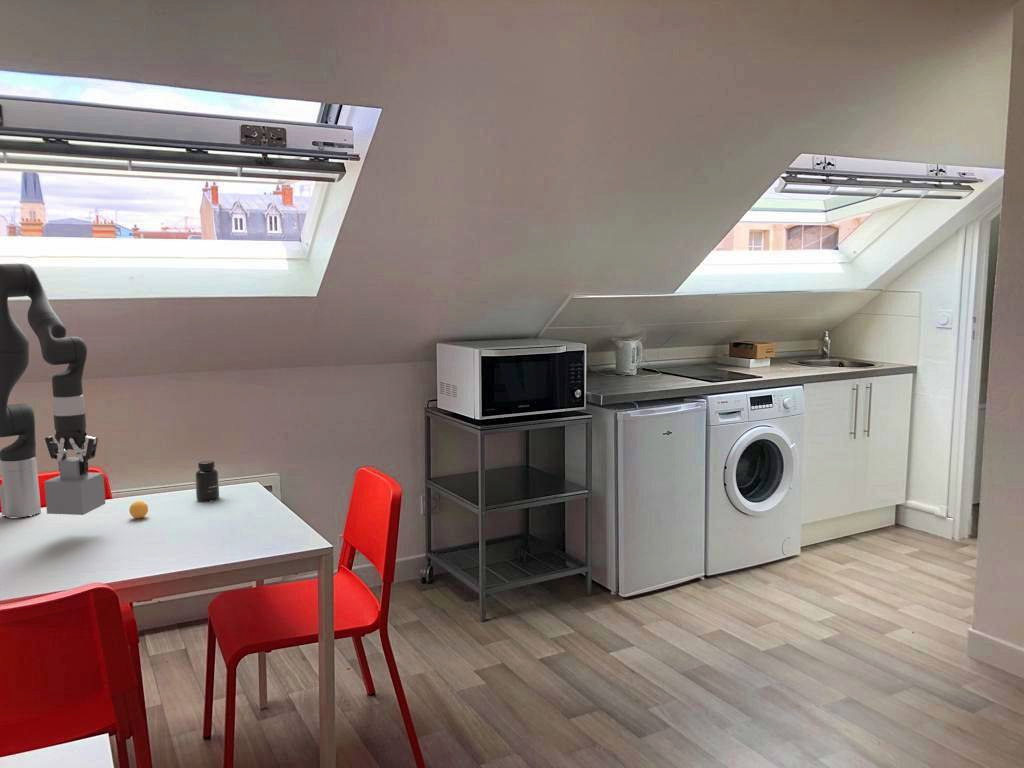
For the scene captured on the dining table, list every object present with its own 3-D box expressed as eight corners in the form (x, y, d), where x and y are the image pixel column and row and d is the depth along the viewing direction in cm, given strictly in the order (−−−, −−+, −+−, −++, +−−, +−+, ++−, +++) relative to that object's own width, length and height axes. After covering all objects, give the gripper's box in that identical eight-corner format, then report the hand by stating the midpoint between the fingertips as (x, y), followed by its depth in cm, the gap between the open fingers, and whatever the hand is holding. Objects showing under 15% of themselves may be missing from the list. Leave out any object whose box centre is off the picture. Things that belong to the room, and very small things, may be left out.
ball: (126, 520, 244) (125, 503, 243) (135, 515, 249) (134, 498, 248) (142, 520, 243) (141, 503, 243) (152, 515, 248) (150, 499, 248)
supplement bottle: (214, 502, 262) (212, 464, 261) (193, 502, 262) (190, 464, 261) (222, 496, 269) (220, 459, 267) (201, 496, 269) (199, 459, 268)
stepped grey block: (47, 513, 224) (42, 463, 222) (70, 502, 234) (66, 454, 232) (83, 514, 223) (79, 464, 221) (105, 503, 233) (101, 455, 231)
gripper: (34, 414, 221) (40, 477, 224) (86, 415, 220) (91, 478, 222) (53, 409, 229) (58, 470, 231) (102, 410, 227) (107, 471, 230)
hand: (74, 473), depth 227 cm, fingers closed on stepped grey block, 4 cm apart
